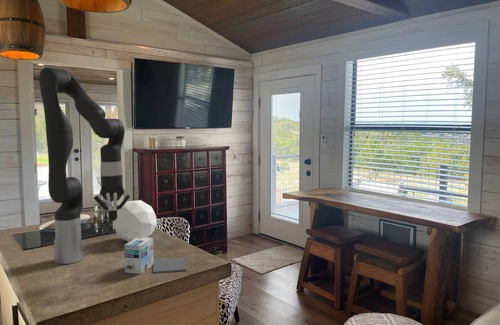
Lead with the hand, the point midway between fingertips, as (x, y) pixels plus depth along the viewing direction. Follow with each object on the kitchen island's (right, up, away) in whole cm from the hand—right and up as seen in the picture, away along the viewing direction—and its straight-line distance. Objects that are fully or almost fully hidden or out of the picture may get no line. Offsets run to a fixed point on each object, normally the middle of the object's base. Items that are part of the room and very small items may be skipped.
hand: (113, 220), depth 144 cm
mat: (+19, -18, +7) cm, 28 cm away
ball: (-3, -16, +39) cm, 42 cm away
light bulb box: (+9, -19, +4) cm, 21 cm away
